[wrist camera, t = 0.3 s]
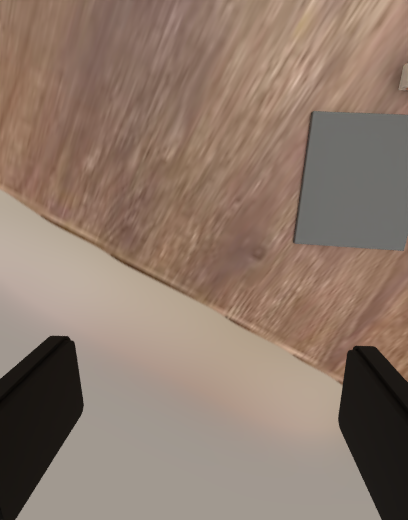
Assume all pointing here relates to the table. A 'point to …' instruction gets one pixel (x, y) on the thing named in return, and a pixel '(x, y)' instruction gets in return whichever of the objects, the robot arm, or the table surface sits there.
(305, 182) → the mat
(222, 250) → the table surface
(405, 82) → the block
